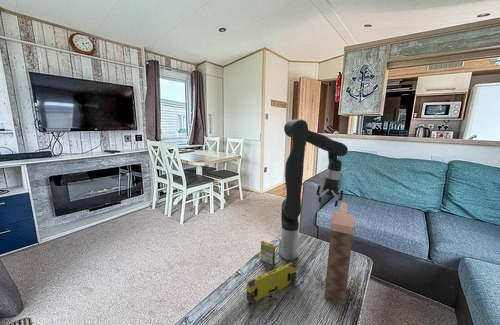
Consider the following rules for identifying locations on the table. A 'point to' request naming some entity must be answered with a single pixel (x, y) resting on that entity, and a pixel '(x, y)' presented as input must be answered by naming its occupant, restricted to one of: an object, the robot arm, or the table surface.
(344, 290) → the wooden block
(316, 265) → the table surface
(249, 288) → the gaming console
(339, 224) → the paddle
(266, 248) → the crayon box
